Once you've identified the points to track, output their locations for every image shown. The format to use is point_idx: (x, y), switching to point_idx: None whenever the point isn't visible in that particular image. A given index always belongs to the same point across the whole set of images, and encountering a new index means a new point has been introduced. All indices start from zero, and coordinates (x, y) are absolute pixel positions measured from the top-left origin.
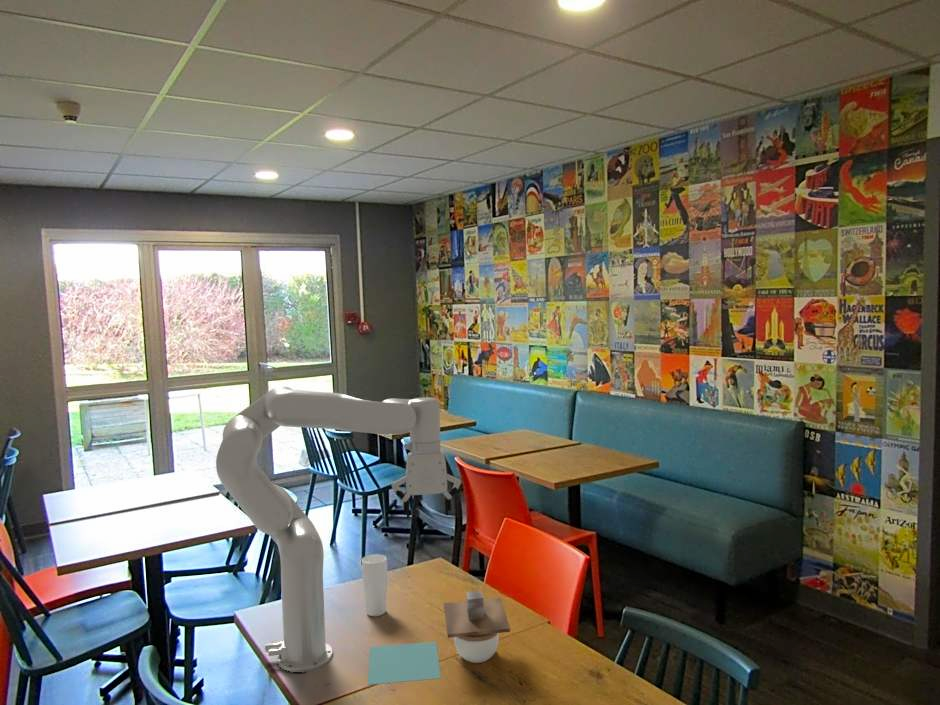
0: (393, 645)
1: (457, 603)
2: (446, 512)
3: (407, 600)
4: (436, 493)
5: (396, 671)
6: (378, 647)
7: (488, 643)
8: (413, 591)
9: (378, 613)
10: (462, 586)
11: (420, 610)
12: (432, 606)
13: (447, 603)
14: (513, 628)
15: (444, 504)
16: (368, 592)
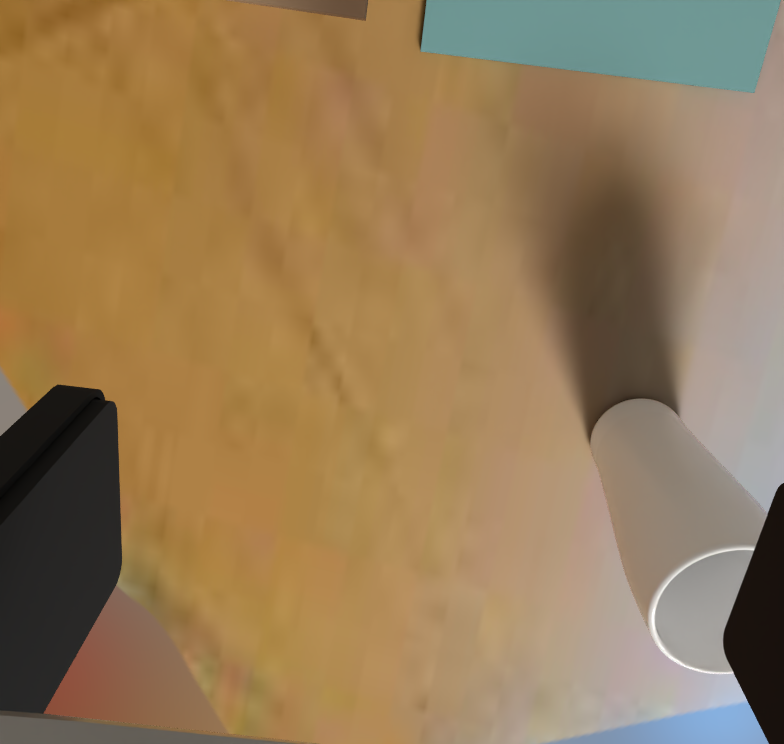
0: (637, 74)
1: None
2: (72, 405)
3: (471, 506)
4: (98, 720)
5: None
6: (715, 75)
7: None
8: (429, 576)
9: (637, 401)
10: (205, 562)
11: (432, 401)
12: (370, 422)
13: (340, 1)
14: (10, 94)
15: (60, 644)
16: (719, 462)
